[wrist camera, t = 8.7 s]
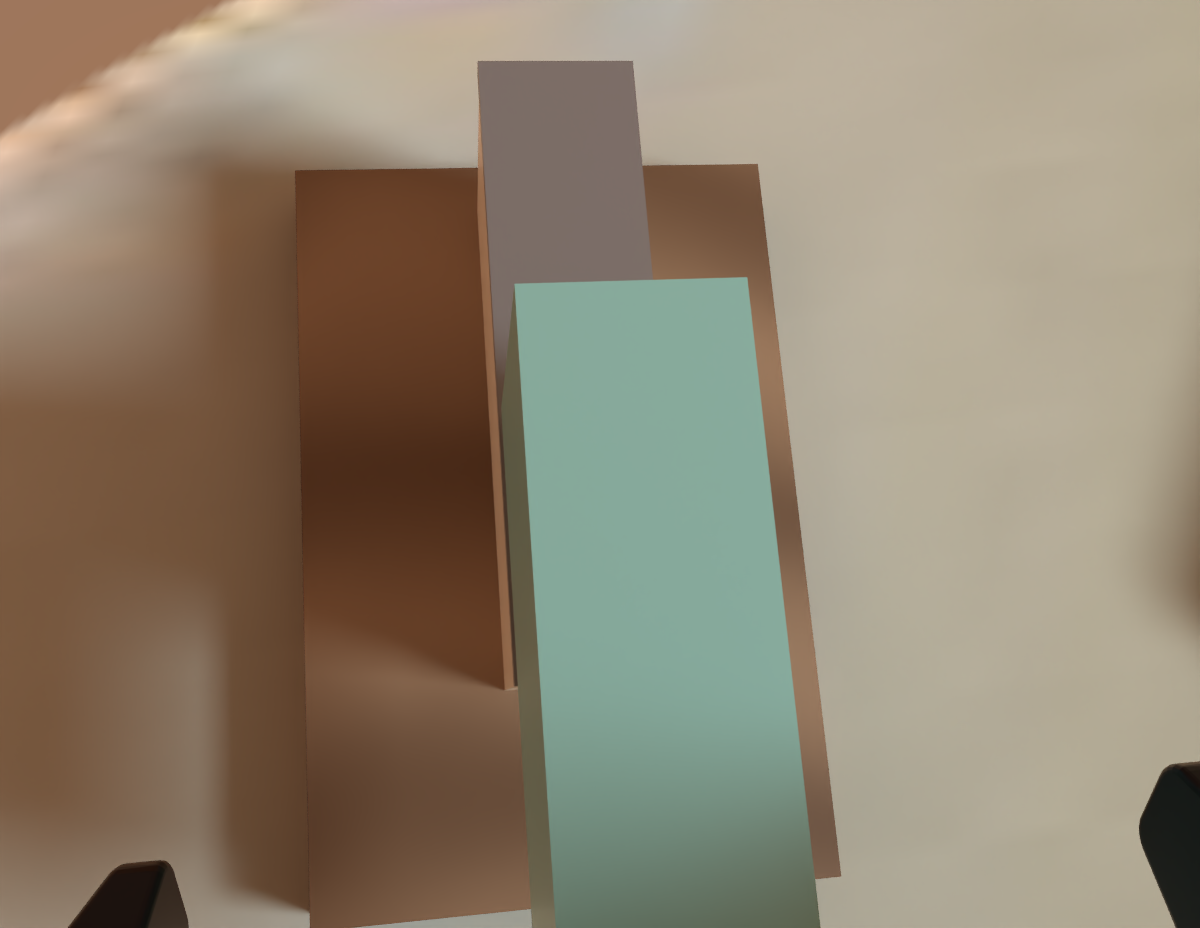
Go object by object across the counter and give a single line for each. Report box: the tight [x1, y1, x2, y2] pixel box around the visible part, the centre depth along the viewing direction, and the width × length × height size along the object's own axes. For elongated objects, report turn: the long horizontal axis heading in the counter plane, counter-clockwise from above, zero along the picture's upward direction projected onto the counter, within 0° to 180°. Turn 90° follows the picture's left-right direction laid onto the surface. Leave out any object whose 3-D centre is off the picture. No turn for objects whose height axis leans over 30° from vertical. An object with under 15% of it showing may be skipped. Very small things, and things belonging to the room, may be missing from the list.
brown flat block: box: [295, 164, 841, 928], centre depth 22 cm, size 15×10×2 cm, turn 4°
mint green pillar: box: [501, 277, 820, 928], centre depth 13 cm, size 10×2×5 cm, turn 4°
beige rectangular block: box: [477, 61, 653, 690], centre depth 19 cm, size 10×3×6 cm, turn 4°
